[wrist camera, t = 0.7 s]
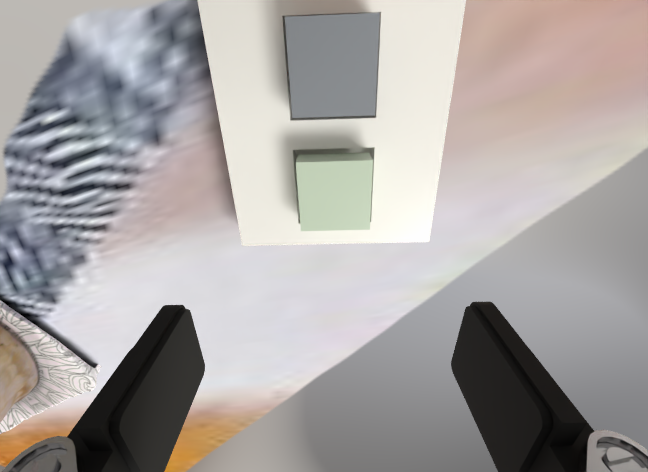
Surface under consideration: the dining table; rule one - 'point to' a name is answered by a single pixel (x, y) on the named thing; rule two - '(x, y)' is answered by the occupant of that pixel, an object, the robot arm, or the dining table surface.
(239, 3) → the keypad
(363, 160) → the sage key
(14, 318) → the cookie jar
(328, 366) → the dining table surface
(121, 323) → the dining table surface
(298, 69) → the charcoal key
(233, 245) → the dining table surface
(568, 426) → the robot arm
